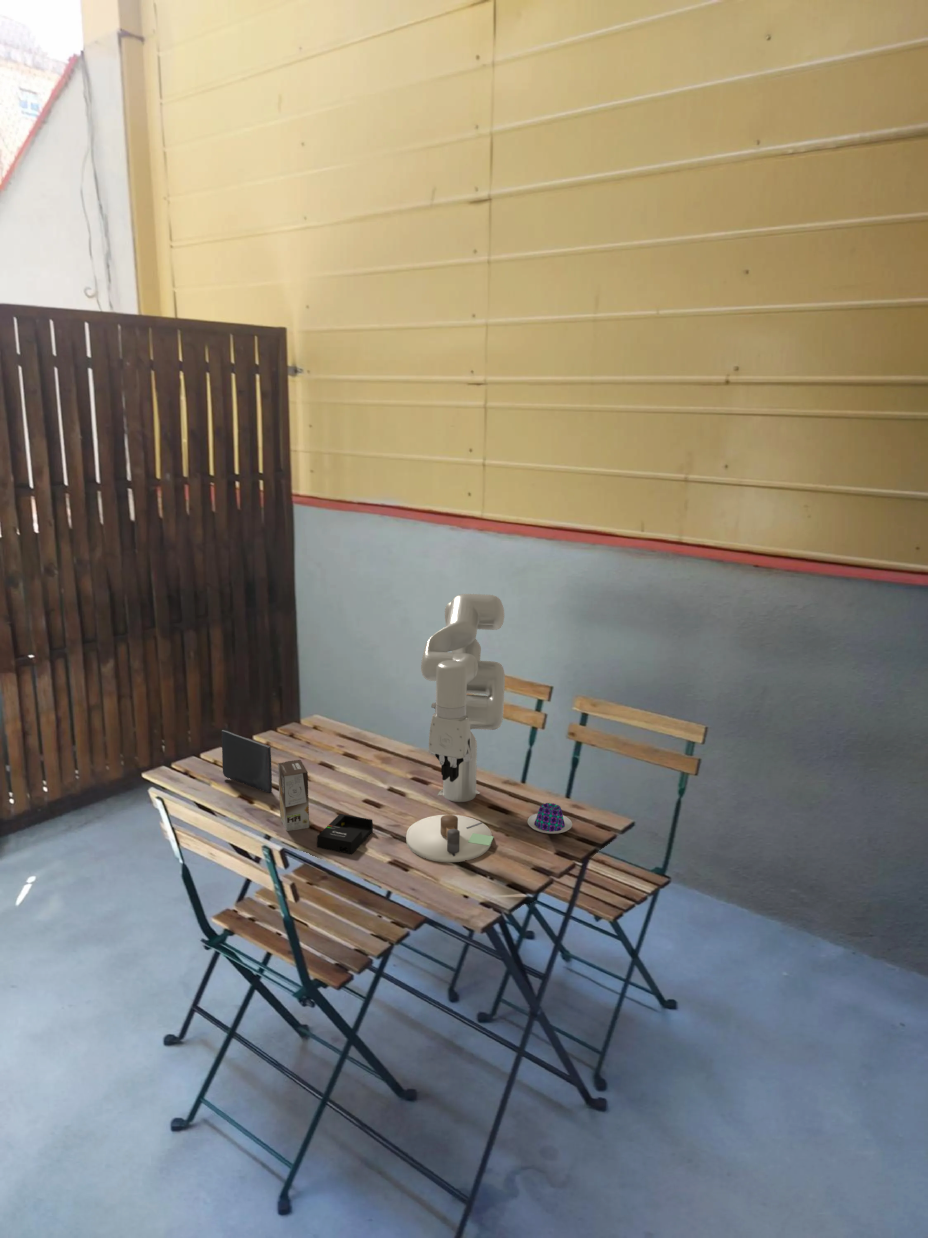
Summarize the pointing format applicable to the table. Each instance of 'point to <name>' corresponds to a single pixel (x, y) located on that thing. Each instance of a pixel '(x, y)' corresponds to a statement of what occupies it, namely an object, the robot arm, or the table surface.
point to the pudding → (550, 819)
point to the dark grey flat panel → (246, 761)
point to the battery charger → (345, 834)
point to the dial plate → (433, 845)
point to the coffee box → (293, 795)
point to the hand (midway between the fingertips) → (449, 778)
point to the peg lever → (451, 832)
